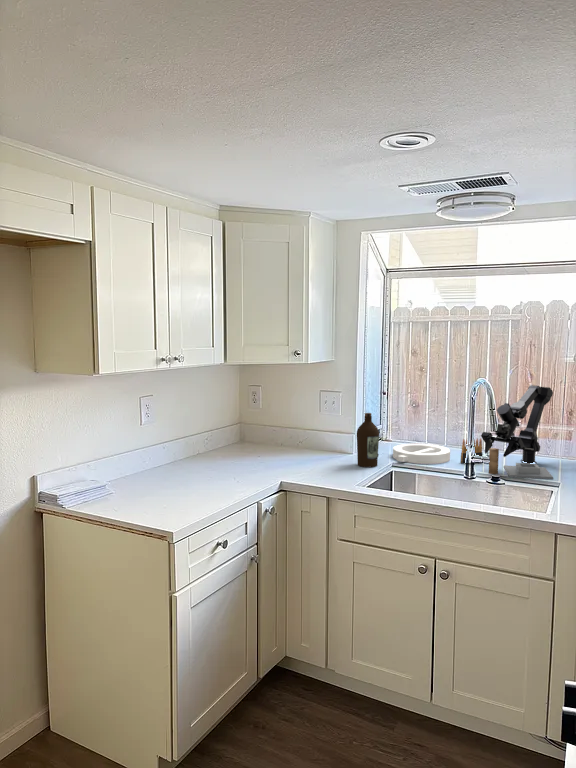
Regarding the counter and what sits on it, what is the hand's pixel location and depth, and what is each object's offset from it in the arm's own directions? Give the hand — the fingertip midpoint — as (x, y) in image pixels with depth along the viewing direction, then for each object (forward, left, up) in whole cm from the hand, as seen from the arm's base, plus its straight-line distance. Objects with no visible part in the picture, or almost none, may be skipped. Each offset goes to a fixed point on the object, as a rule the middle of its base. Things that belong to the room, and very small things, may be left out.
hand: (494, 454), depth 268 cm
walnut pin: (0, 0, -8) cm, 8 cm away
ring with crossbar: (-25, -32, -9) cm, 41 cm away
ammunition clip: (-19, -8, -8) cm, 22 cm away
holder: (-3, +15, -8) cm, 17 cm away
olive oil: (-2, -57, -8) cm, 58 cm away
